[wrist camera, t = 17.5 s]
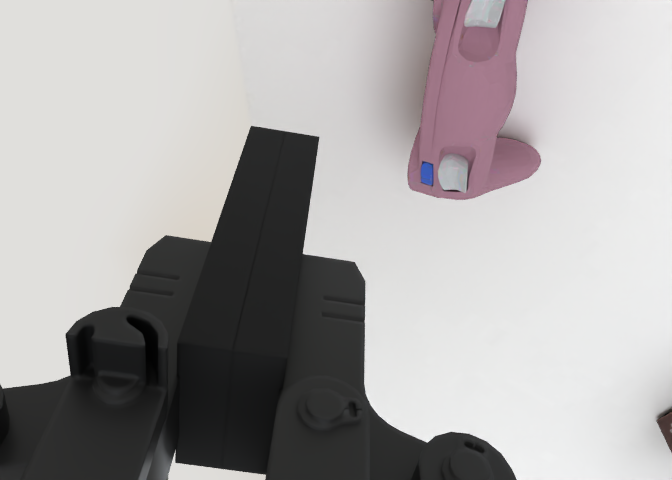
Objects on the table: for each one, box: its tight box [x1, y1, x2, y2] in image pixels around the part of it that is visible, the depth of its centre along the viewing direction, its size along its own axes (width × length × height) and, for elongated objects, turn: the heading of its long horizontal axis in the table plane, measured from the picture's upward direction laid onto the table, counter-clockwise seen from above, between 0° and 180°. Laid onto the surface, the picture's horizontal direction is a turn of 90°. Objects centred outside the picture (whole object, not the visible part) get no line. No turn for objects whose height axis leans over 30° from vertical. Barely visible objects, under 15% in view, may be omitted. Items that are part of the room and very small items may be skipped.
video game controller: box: [408, 0, 541, 200], centre depth 23 cm, size 10×5×7 cm, turn 177°
